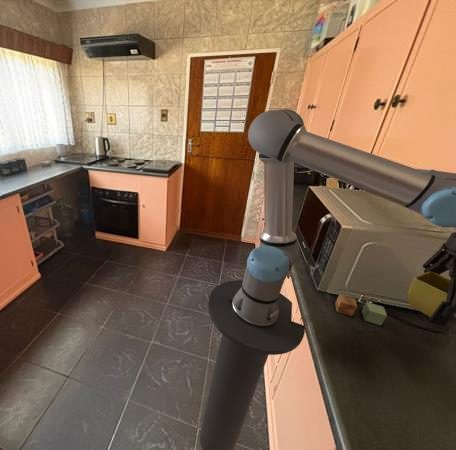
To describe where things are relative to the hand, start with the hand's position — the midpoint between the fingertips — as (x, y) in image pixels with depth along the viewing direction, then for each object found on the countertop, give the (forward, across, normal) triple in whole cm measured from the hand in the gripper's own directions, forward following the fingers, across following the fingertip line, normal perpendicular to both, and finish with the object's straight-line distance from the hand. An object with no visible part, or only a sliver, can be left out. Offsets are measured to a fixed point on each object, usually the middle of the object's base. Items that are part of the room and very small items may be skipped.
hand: (427, 307), depth 67 cm
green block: (+16, +10, +5) cm, 20 cm away
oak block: (+16, +10, +13) cm, 23 cm away
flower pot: (+1, 0, 0) cm, 1 cm away
